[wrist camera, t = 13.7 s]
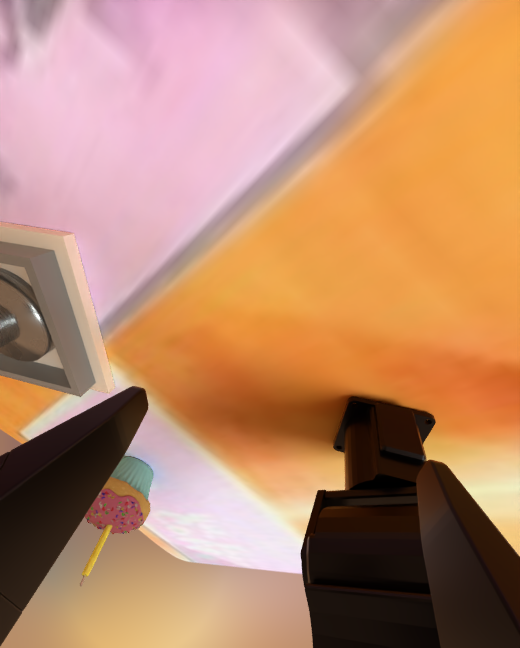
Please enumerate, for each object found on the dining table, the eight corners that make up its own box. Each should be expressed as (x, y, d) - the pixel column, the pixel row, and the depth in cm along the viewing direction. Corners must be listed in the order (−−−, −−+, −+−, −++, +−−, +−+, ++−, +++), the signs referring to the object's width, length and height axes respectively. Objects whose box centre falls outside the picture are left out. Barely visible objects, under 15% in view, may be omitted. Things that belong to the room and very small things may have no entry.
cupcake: (151, 449, 34) (74, 570, 24) (176, 490, 38) (118, 609, 28) (97, 445, 37) (8, 552, 27) (125, 484, 41) (56, 590, 31)
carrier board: (115, 387, 30) (94, 408, 27) (-8, 355, 32) (-37, 372, 30) (73, 233, 21) (38, 243, 19) (-89, 207, 24) (-139, 214, 21)
